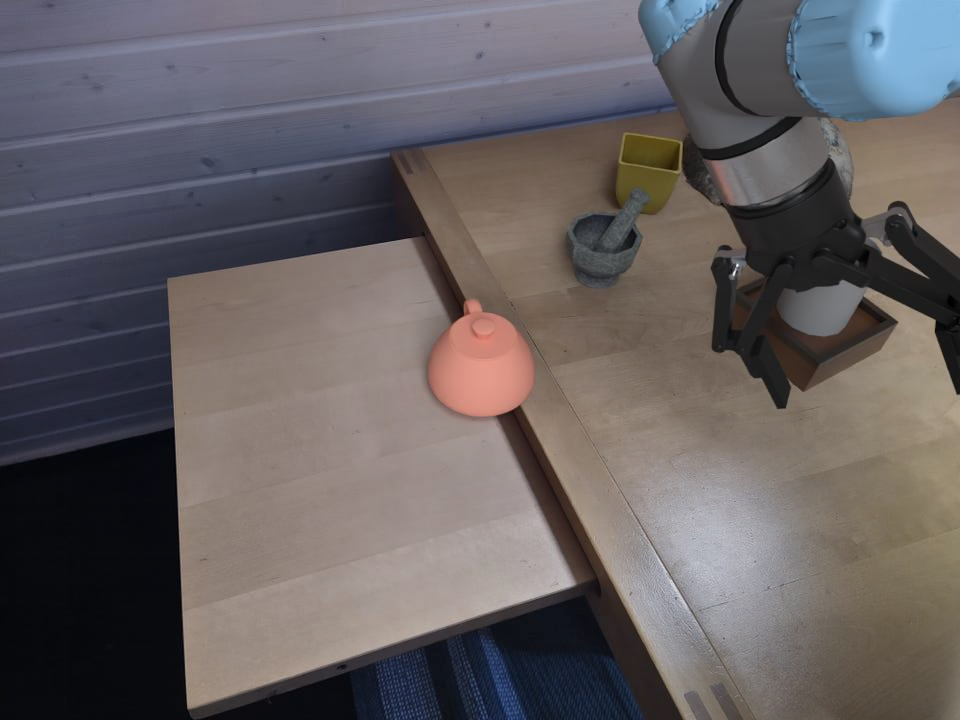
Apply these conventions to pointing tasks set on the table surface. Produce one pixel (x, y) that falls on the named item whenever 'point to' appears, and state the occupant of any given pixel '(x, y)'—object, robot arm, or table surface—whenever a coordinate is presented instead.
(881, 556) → the table surface
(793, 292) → the cup
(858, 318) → the brown wooden tray
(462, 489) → the table surface
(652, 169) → the flower pot
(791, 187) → the robot arm
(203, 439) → the table surface
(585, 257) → the mortar and pestle
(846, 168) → the bread
